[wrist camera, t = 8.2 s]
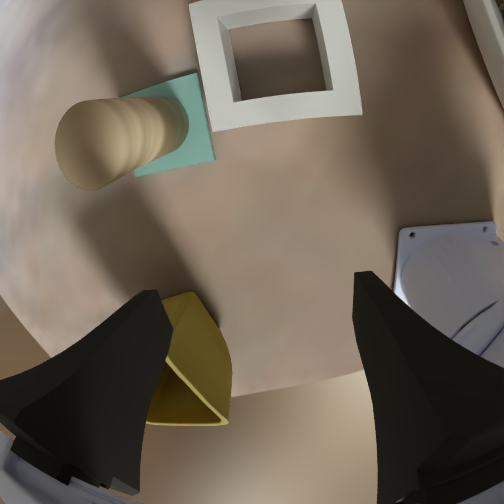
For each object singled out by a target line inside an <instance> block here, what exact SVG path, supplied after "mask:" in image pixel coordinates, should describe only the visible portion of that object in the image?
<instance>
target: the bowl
mask: <svg viewBox="0 0 504 504" xmlns="http://www.w3.org/2000/svg"><path fill="white" fill-rule="evenodd" d="M463 2H464V6H465V9H466V12H467V15H468V18H469V21H470V24H471V27H472V30H473V33H474V35H475V38H476V41H477V44H478V46H479V49H480V52H481V54H482V57H483V60H484V62H485V65H486V67H487V70H488V73H489V75H490V77H491V80H492V83H493V85H494V87H495V90H496V92H497V95H498V97H499V99H500V102H501V104H502V106H503V109H504V0H463Z"/></svg>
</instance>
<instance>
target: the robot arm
mask: <svg viewBox="0 0 504 504" xmlns="http://www.w3.org/2000/svg"><path fill="white" fill-rule="evenodd" d="M484 227H485V228H484ZM483 228H484V230H483ZM412 232H414V234H413V236H409V235H410V233H412ZM496 232H497V224H496V223H495V222H493V221H488V222H474V223H459V224H446V225H432V226H419V227H406V228H403V229H401V230H400V232H399V238H398V251H397V263H396V272H395V281H394V289H393V291H392V290H391V289H390V288H389V287H388V286H387V285H386V284H385V283H384V282H383V281H382V280H381V279H380V278H379V277H378V276H376V275H375V274H374V273H373V272H372V271H364V272H355V273H354V295H353V313H352V319H353V325H354V331H355V337H356V342H357V346H358V349H359V353H360V356H361V360H362V364H363V367H364V371H365V374H366V378H367V382H368V386H369V390H370V393H371V399H372V403H373V412H374V420H375V430H376V442H377V463H378V489H377V492H378V493H377V504H504V242H503V241H502V240H501V239H500V238H499V237H498V236H497V235H496ZM172 334H173V326H172V324H171V322H170V320H169V317H168V315H167V313H166V311H165V308H164V306H163V304H162V301H161V299H160V297H159V294H158V292H157V290H143V291H142V292H140V293H139V294H137V295H136V296H134V297H133V298H132V299H131V300H129V301H128V302H127V303H125V304H124V305H123V306H122V307H121V308H119V309H118V310H117V311H116V312H115V313H113V314H112V315H111V316H110V317H109V318H107V319H106V320H105V321H104V322H102V323H101V324H100V325H99V326H97V327H96V328H95V329H94V330H92V331H91V332H90V333H88V334H87V335H86V336H85V337H83V338H82V339H81V340H79V341H78V342H76V343H75V344H73V345H72V346H70V347H69V348H67V349H66V350H64V351H63V352H61V353H60V354H58V355H56V356H54V357H52V358H51V359H49V360H47V361H45V362H44V363H42V364H40V365H38V366H36V367H34V368H32V369H29V370H27V371H24V372H22V373H20V374H17V375H14V376H11V377H8V378H5V379H2V380H0V423H1V424H3V425H4V426H5V427H6V428H7V429H8V430H9V431H11V432H12V433H13V434H14V435H15V436H16V438H15V440H14V441H13V440H12V439H11V438H9V437H8V436H7V435H5V434H4V433H2V432H1V431H0V496H1V498H2V499H3V500H4V502H5V503H6V504H143V503H139V502H136V501H133V500H130V499H127V498H124V497H121V496H118V495H115V494H113V493H110V492H108V491H105V490H102V489H100V488H99V486H101V487H104V488H106V489H109V488H111V489H114V490H117V491H120V492H123V493H126V494H129V495H132V496H133V495H136V494H138V493H139V492H140V461H141V450H142V442H143V435H144V429H145V424H146V419H147V414H148V410H149V406H150V402H151V399H152V396H153V393H154V390H155V387H156V385H157V382H158V379H159V377H160V374H161V371H162V369H163V366H164V363H165V360H166V358H167V355H168V352H169V348H170V344H171V339H172Z"/></svg>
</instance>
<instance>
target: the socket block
mask: <svg viewBox="0 0 504 504" xmlns="http://www.w3.org/2000/svg"><path fill="white" fill-rule="evenodd" d="M189 10H190V16H191V21H192V27H193V32H194V38H195V43H196V49H197V54H198V59H199V65H200V70H201V75H202V80H203V86H204V91H205V96H206V101H207V106H208V111H209V116H210V121H211V127H212V132H216V131H221V130H226V129H232V128H238V127H244V126H250V125H256V124H263V123H271V122H278V121H287V120H296V119H306V118H317V117H330V116H348V115H363V113H362V105H361V97H360V90H359V83H358V77H357V71H356V65H355V59H354V54H353V49H352V44H351V39H350V34H349V30H348V25H347V21H346V17H345V13H344V9H343V5H342V1H341V0H201V1H198V2H194V3H191V4H189ZM309 18H312V20H313V25H314V29H315V34H316V38H317V43H318V48H319V53H320V59H321V64H322V69H323V75H324V81H325V87H326V91H317V92H305V93H295V94H286V95H278V96H270V97H263V98H257V99H250V100H244V101H242V97H241V92H240V87H239V81H238V76H237V71H236V65H235V60H234V55H233V50H232V45H231V40H230V34H229V29H234V28H239V27H245V26H250V25H256V24H262V23H269V22H277V21H286V20H296V19H309Z"/></svg>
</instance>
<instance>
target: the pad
mask: <svg viewBox="0 0 504 504" xmlns="http://www.w3.org/2000/svg"><path fill="white" fill-rule="evenodd" d="M126 97H170V98H173V99H175V100H177V101H178V102H179V103H180V104H181V105H182V106H183V107H184V108H185V110H186V112H187V115H188V118H189V131H188V134H187V137H186V139H185V141H184V142H183V144H182V145H181V146H180V147H179V148H178V149H176V150H175V151H173V152H171V153H169V154H166V155H164V156H162V157H160V158H158V159H156V160H154V161H152V162H150V163H148V164H146V165H144V166H142V167H140V168H138V169H136V170H134V173H135V177H140V176H144V175H148V174H152V173H157V172H161V171H166V170H170V169H175V168H180V167H185V166H190V165H195V164H200V163H205V162H211V161H215V160H216V159H215V154H214V149H213V144H212V139H211V134H210V129H209V124H208V119H207V114H206V109H205V104H204V99H203V94H202V89H201V83H200V78H199V73H194V74H190V75H187V76H183V77H180V78H176V79H173V80H169V81H166V82H163V83H160V84H157V85H154V86H151V87H148V88H145V89H142V90H140V91H137V92H134V93H132V94H129V95H126V96H124V97H121V98H126Z"/></svg>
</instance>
